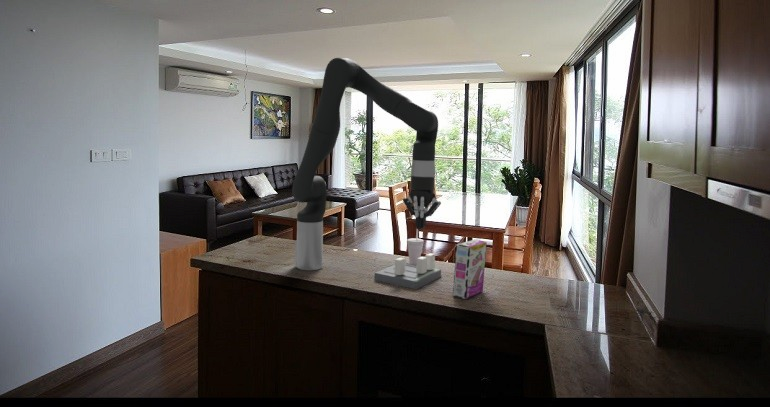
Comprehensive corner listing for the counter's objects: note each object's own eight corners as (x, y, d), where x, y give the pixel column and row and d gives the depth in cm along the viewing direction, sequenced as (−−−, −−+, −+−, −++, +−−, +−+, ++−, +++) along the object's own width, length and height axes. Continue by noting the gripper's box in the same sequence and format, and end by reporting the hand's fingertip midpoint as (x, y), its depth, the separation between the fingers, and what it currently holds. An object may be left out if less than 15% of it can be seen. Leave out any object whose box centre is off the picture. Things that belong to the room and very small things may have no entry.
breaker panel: (374, 279, 158) (375, 256, 157) (401, 268, 173) (402, 247, 172) (416, 289, 150) (417, 264, 149) (440, 276, 165) (441, 254, 164)
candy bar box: (466, 300, 141) (469, 246, 139) (452, 296, 144) (455, 244, 142) (484, 291, 149) (487, 241, 147) (470, 288, 153) (473, 238, 150)
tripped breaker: (394, 274, 155) (394, 259, 154) (399, 271, 158) (400, 257, 157) (399, 275, 154) (400, 260, 153) (404, 272, 157) (405, 258, 156)
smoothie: (421, 267, 176) (423, 230, 174) (404, 266, 177) (406, 229, 175) (423, 263, 182) (425, 227, 180) (407, 261, 183) (408, 226, 181)
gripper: (398, 173, 148) (396, 228, 151) (436, 176, 141) (433, 233, 144) (410, 173, 155) (408, 224, 157) (447, 175, 148) (444, 230, 150)
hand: (420, 228), depth 150 cm, fingers closed
